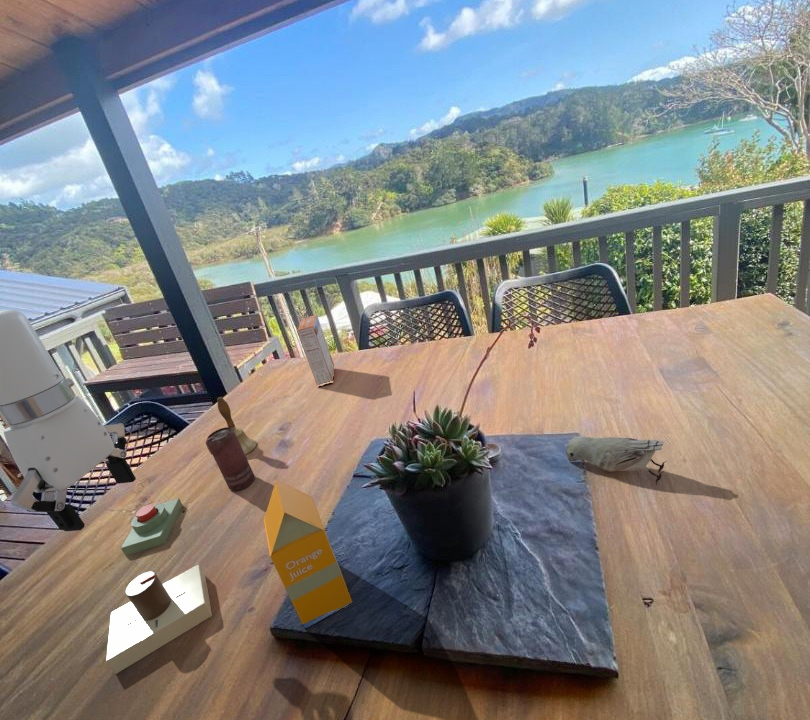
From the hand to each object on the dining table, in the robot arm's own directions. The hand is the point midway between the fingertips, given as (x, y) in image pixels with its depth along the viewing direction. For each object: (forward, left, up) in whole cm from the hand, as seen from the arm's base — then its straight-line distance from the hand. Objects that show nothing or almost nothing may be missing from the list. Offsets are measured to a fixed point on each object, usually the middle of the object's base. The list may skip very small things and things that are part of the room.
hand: (102, 503), depth 64 cm
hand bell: (+20, +45, -23) cm, 54 cm away
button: (-2, +27, -19) cm, 33 cm away
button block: (-2, +27, -23) cm, 35 cm away
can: (+17, +27, -23) cm, 40 cm away
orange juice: (+22, -15, -23) cm, 35 cm away
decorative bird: (+74, -29, -23) cm, 83 cm away
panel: (-1, -2, -23) cm, 23 cm away
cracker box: (+54, +68, -23) cm, 89 cm away
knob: (-1, -2, -20) cm, 20 cm away
